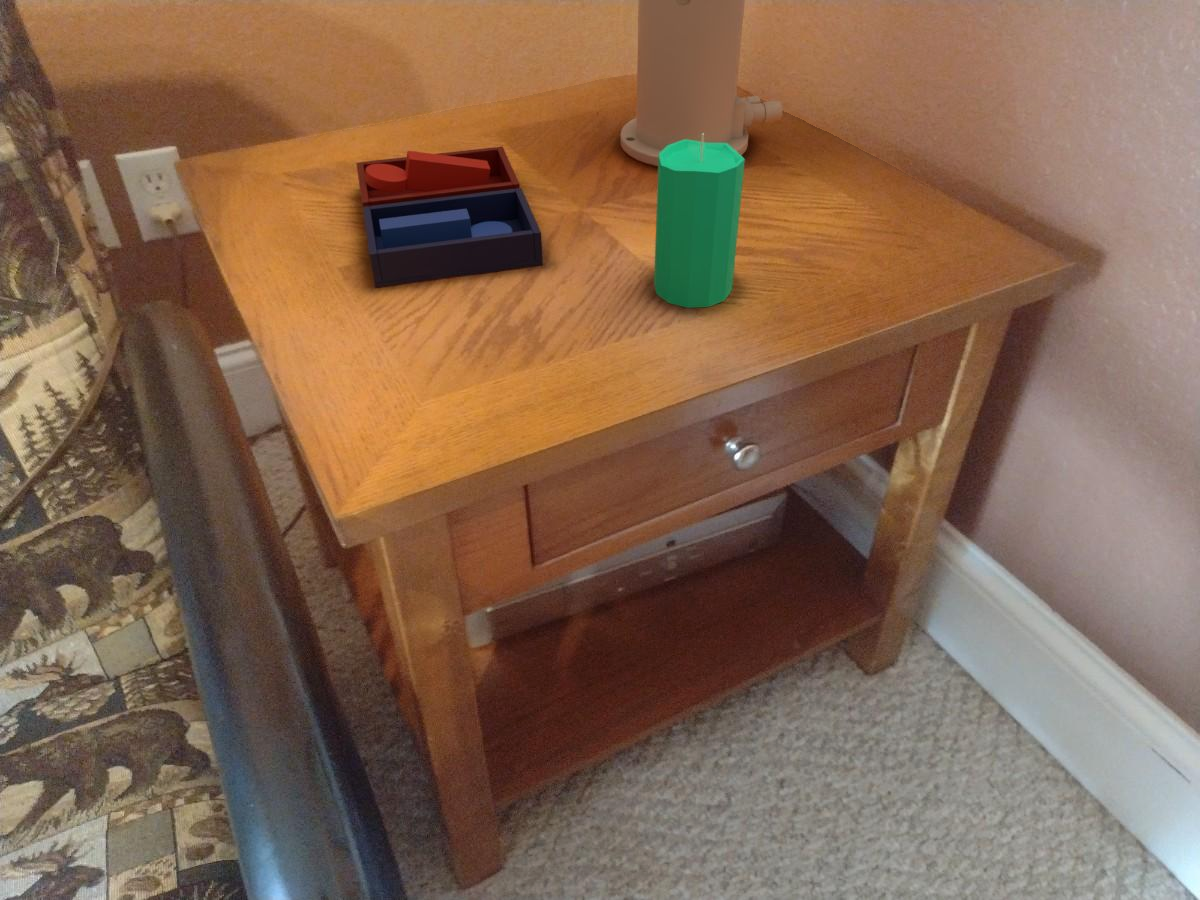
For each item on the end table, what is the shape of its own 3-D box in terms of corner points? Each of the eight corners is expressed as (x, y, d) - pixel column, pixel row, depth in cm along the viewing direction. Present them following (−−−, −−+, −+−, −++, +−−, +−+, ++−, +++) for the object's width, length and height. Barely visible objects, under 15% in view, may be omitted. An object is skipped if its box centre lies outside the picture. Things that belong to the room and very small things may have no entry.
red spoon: (480, 186, 83) (485, 156, 81) (487, 203, 80) (492, 173, 79) (363, 172, 79) (365, 140, 78) (366, 189, 77) (368, 157, 75)
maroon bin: (505, 176, 85) (502, 146, 84) (521, 215, 79) (519, 183, 78) (362, 192, 83) (356, 162, 81) (367, 234, 77) (361, 202, 75)
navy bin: (523, 219, 79) (521, 187, 77) (543, 265, 73) (541, 231, 71) (368, 238, 76) (362, 206, 75) (375, 287, 70) (369, 254, 69)
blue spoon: (387, 266, 72) (381, 234, 70) (383, 245, 75) (377, 214, 73) (516, 249, 74) (514, 218, 72) (508, 229, 77) (506, 198, 75)
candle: (727, 311, 67) (743, 154, 60) (647, 303, 68) (652, 147, 61) (735, 271, 72) (750, 120, 64) (659, 264, 73) (665, 114, 65)
